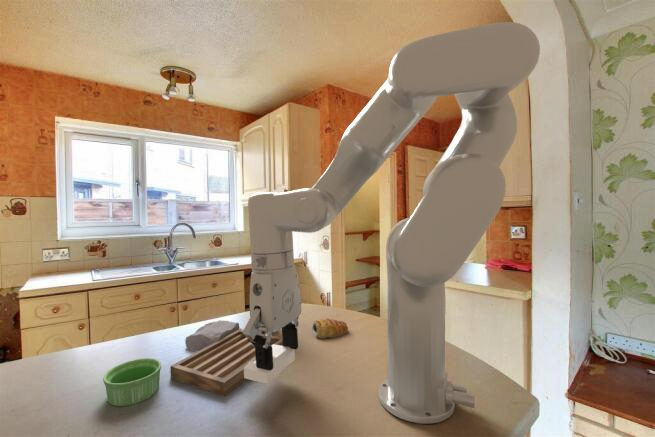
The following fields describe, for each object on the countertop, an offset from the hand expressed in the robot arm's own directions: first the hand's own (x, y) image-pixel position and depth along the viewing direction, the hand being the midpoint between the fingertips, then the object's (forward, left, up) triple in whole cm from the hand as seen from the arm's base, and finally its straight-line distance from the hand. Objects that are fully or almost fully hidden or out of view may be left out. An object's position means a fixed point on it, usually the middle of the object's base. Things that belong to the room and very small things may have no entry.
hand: (278, 356), depth 57 cm
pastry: (+3, -27, -7) cm, 28 cm away
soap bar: (+2, 0, -3) cm, 3 cm away
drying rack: (+15, -5, -6) cm, 17 cm away
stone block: (+28, -11, -7) cm, 31 cm away
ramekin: (+24, +11, -7) cm, 27 cm away
